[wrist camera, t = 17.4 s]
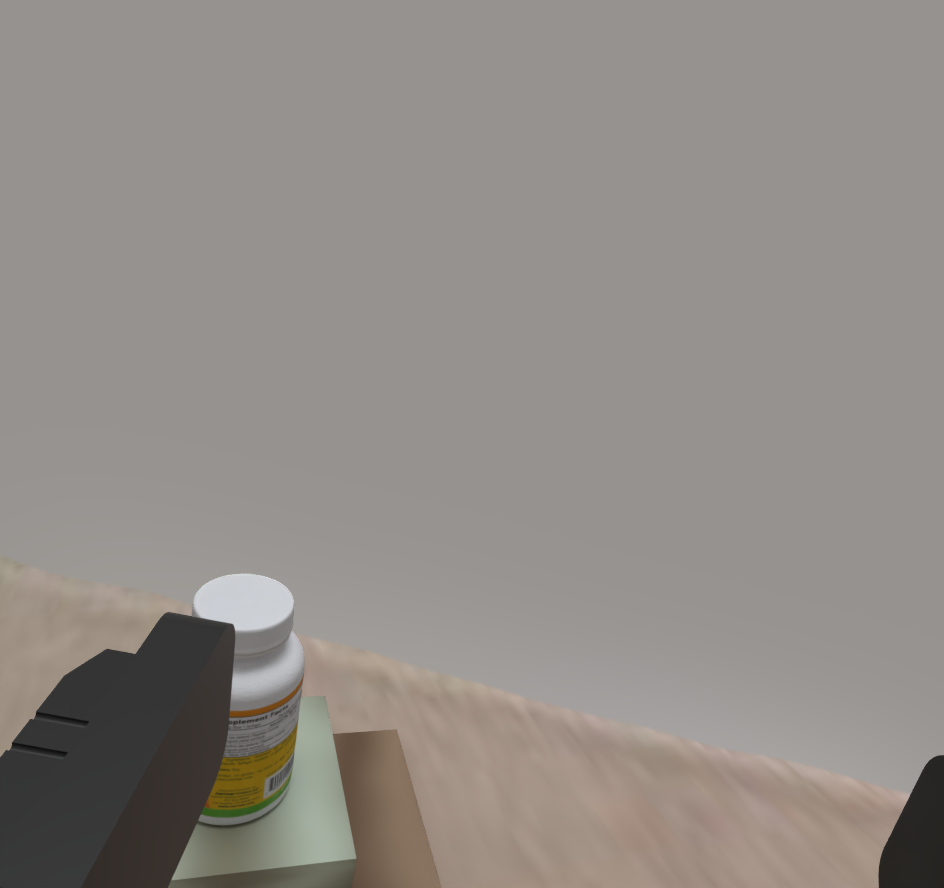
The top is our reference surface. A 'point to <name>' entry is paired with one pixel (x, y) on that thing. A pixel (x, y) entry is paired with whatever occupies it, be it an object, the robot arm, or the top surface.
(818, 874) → the top surface
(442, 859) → the top surface
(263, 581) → the supplement bottle
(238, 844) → the pedestal
